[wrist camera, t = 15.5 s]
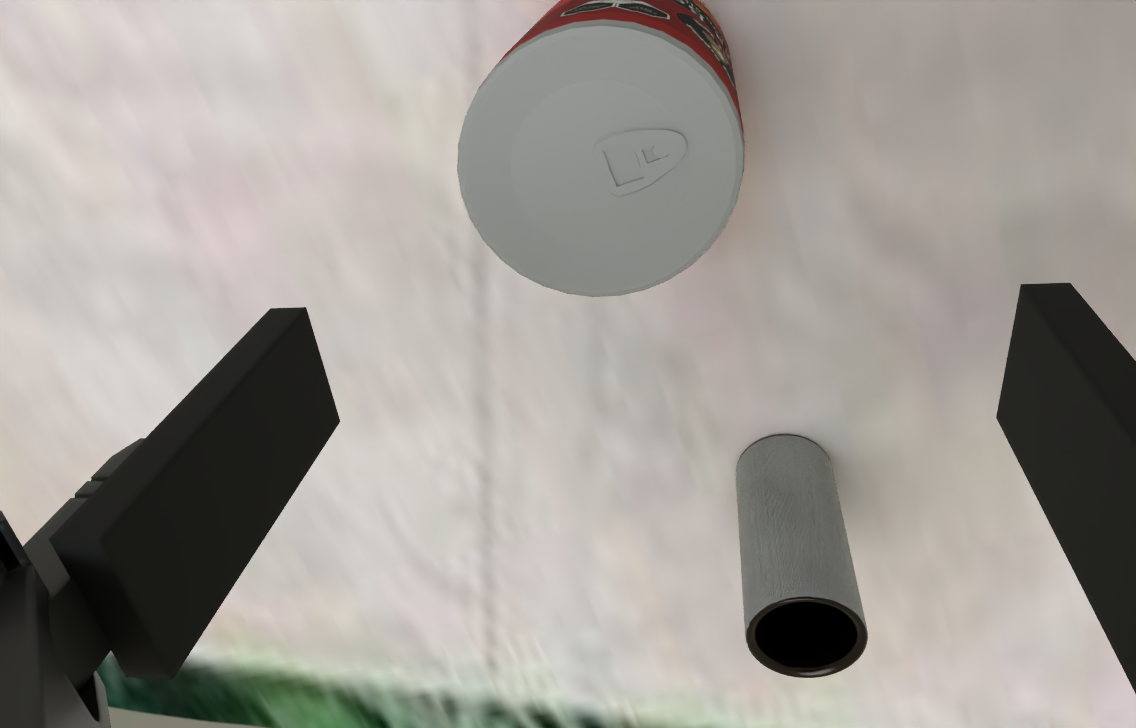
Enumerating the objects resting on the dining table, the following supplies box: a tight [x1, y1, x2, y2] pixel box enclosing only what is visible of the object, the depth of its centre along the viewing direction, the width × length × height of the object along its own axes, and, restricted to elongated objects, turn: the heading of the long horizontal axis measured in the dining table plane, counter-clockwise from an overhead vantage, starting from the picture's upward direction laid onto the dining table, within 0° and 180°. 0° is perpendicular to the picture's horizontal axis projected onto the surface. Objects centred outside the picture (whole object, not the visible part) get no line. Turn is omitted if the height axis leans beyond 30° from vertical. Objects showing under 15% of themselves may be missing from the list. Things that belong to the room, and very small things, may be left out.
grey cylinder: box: [736, 435, 868, 678], centre depth 36 cm, size 4×4×10 cm
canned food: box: [457, 0, 744, 297], centre depth 27 cm, size 8×8×11 cm
